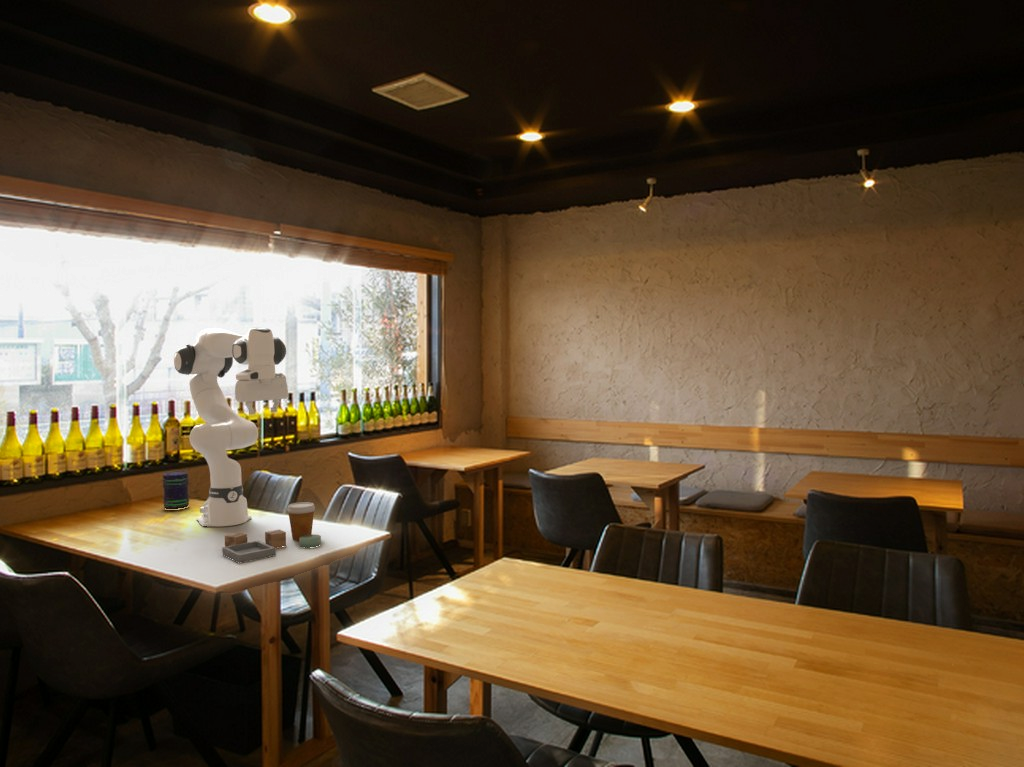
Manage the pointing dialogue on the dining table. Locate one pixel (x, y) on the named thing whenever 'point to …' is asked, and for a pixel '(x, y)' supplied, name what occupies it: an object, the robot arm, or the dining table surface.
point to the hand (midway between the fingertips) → (263, 413)
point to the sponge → (310, 541)
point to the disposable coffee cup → (301, 519)
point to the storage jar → (175, 490)
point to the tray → (248, 551)
